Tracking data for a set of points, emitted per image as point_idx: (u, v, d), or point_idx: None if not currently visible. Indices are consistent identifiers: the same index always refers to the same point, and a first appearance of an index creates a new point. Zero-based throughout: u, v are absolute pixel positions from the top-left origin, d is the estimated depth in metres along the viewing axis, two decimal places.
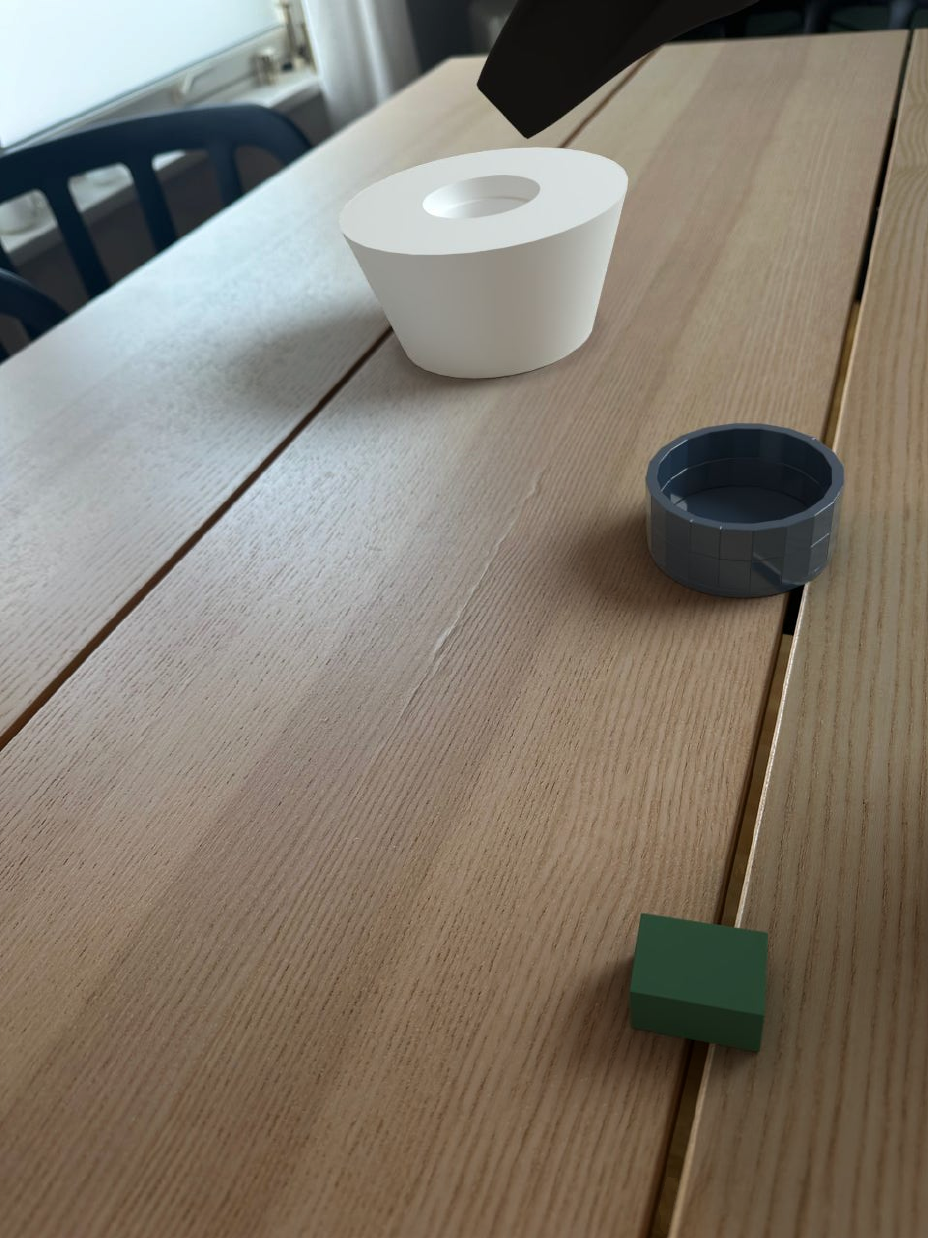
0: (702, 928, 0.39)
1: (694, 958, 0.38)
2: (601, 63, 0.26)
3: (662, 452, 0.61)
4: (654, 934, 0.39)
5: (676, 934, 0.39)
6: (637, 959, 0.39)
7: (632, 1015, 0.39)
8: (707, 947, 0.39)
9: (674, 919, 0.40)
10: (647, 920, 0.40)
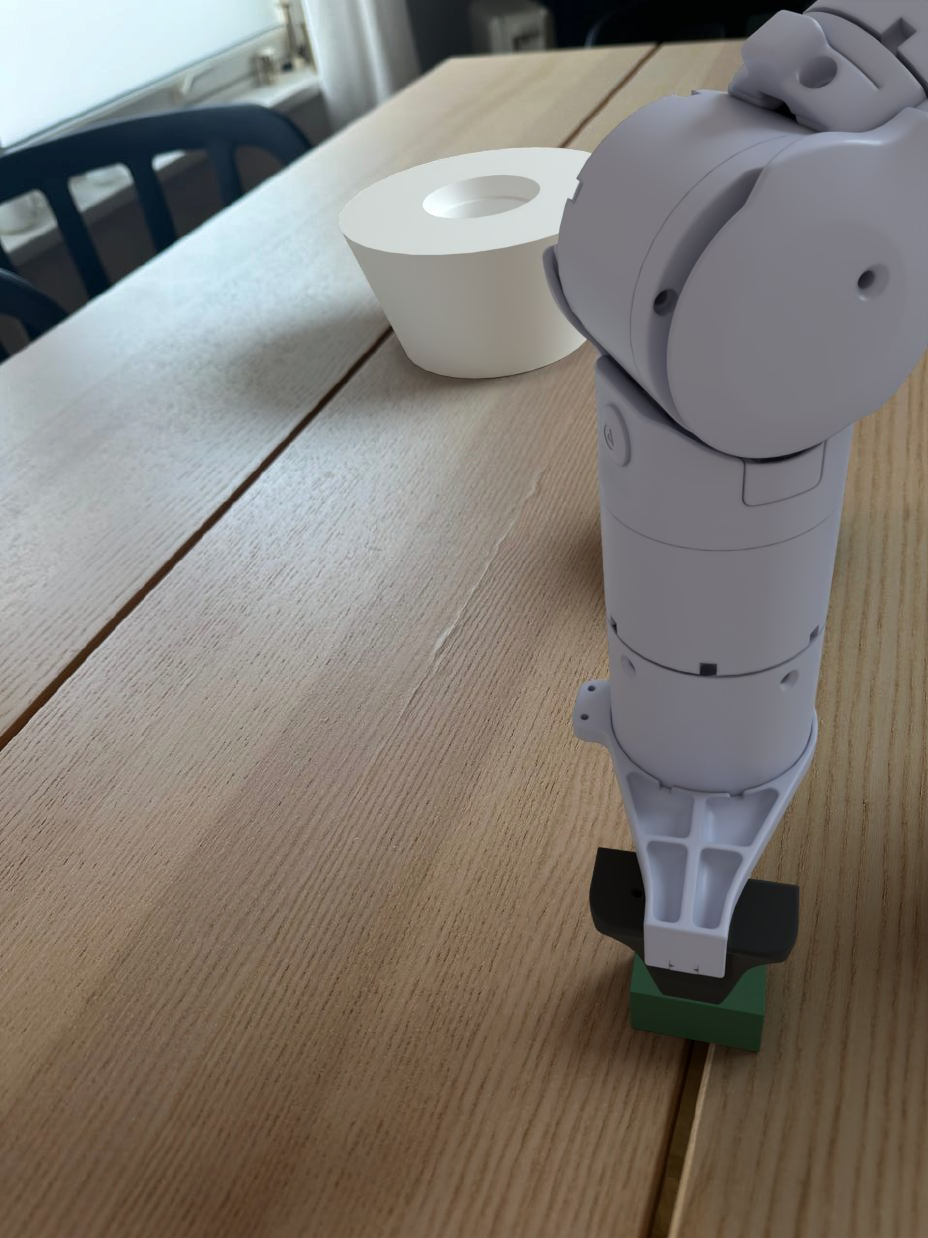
0: None
1: None
2: (728, 968, 0.30)
3: None
4: None
5: None
6: (637, 959, 0.39)
7: (632, 1015, 0.39)
8: None
9: None
10: None
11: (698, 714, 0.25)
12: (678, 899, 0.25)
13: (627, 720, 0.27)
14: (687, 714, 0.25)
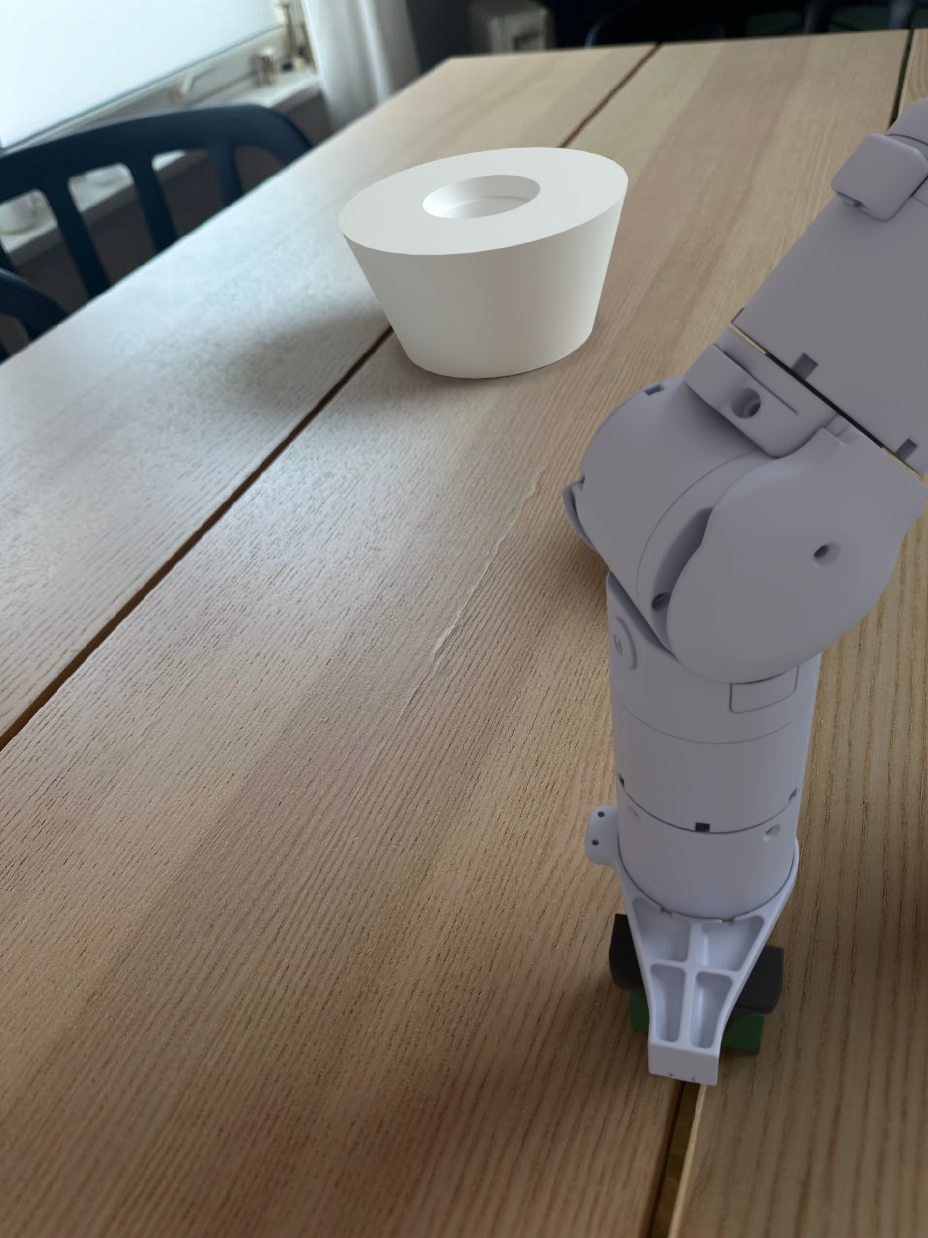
0: None
1: None
2: None
3: None
4: None
5: None
6: None
7: (632, 1016, 0.39)
8: None
9: None
10: None
11: (693, 859, 0.29)
12: (677, 1018, 0.29)
13: (632, 854, 0.31)
14: (685, 859, 0.29)
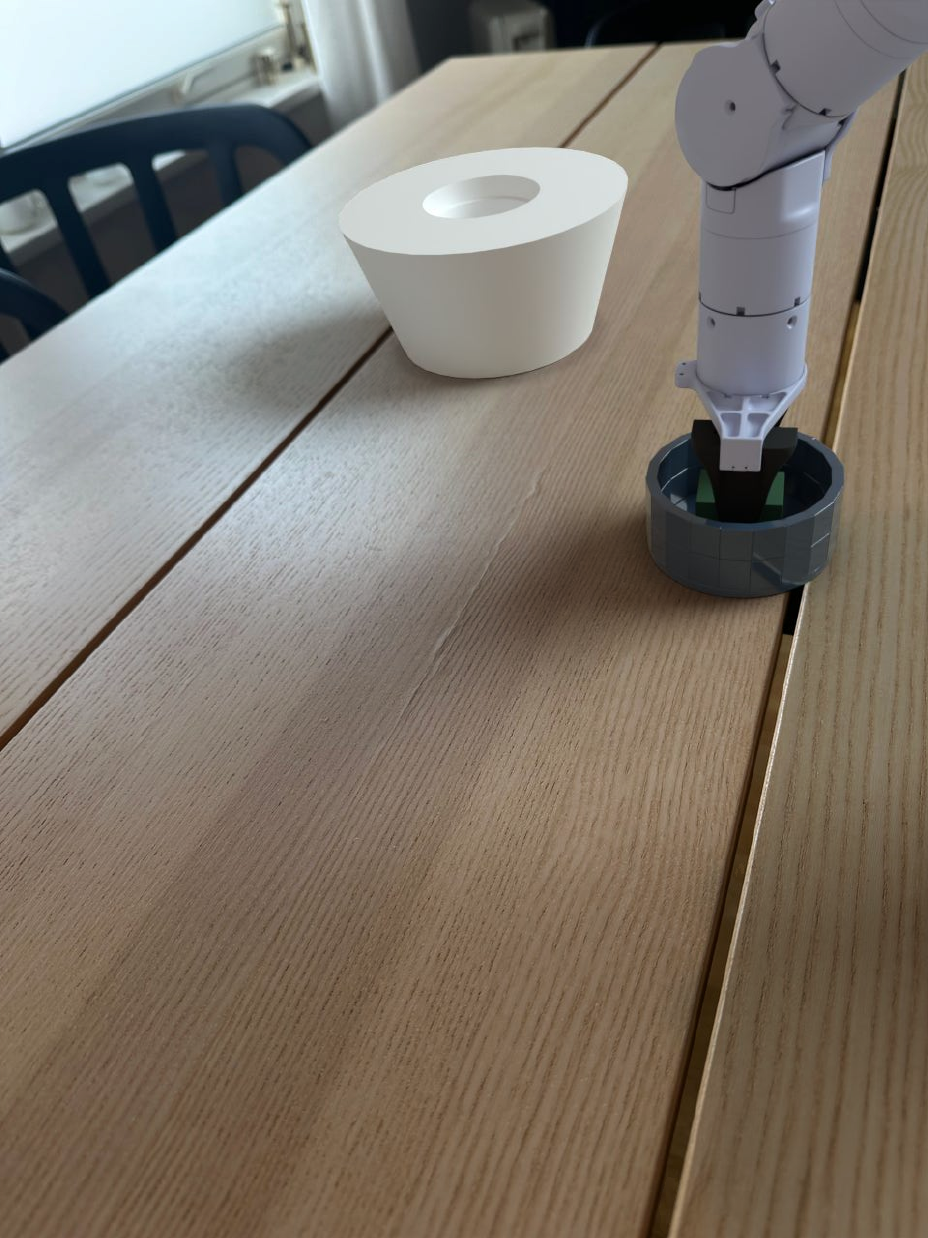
0: None
1: None
2: (760, 491, 0.56)
3: (662, 452, 0.61)
4: None
5: None
6: (699, 488, 0.60)
7: None
8: None
9: None
10: (705, 472, 0.61)
11: (746, 341, 0.50)
12: (737, 433, 0.50)
13: (708, 360, 0.53)
14: (741, 342, 0.50)
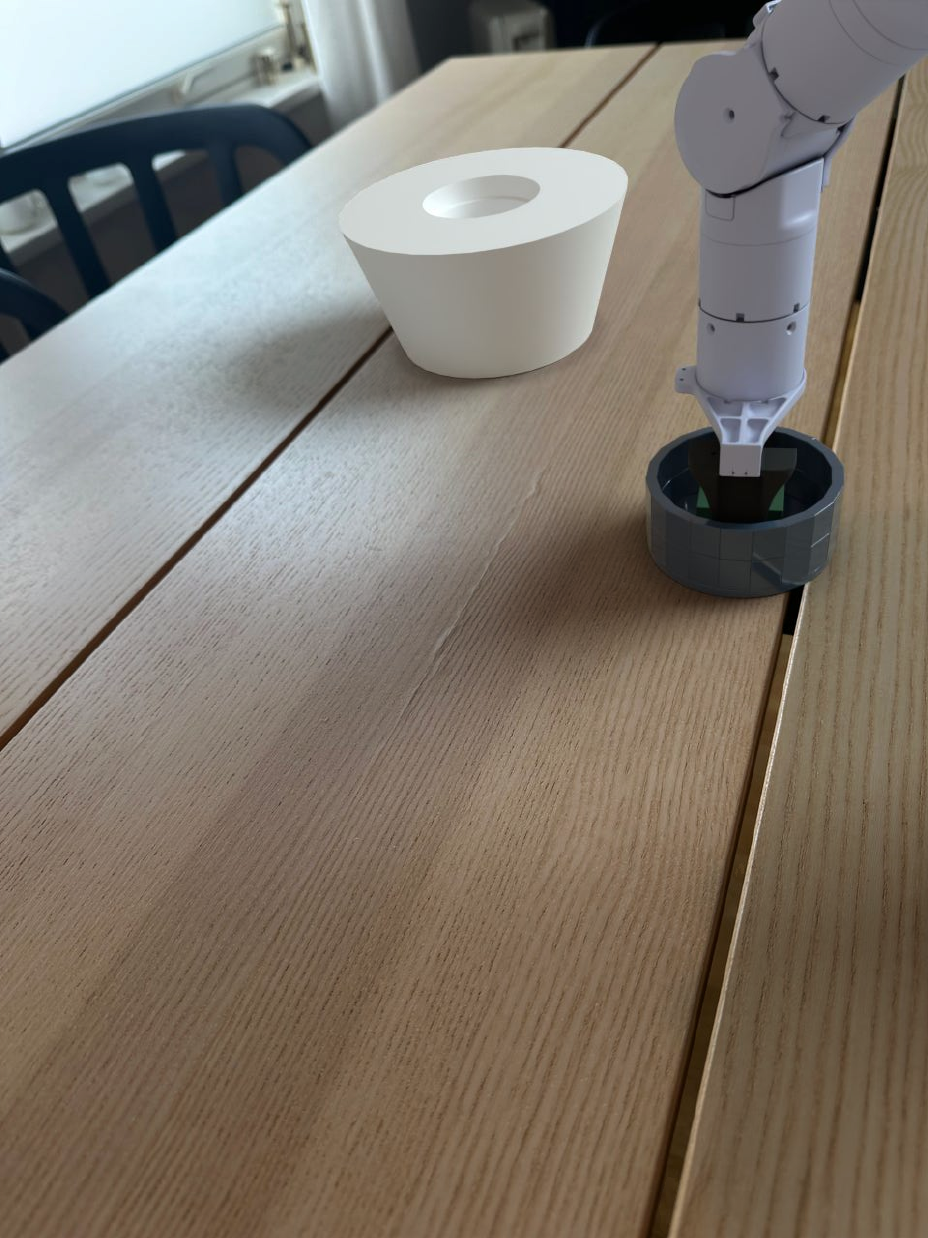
0: None
1: None
2: (759, 513, 0.55)
3: (662, 452, 0.61)
4: None
5: None
6: (700, 493, 0.60)
7: None
8: None
9: None
10: None
11: (746, 347, 0.51)
12: (736, 439, 0.50)
13: (707, 366, 0.53)
14: (741, 348, 0.51)
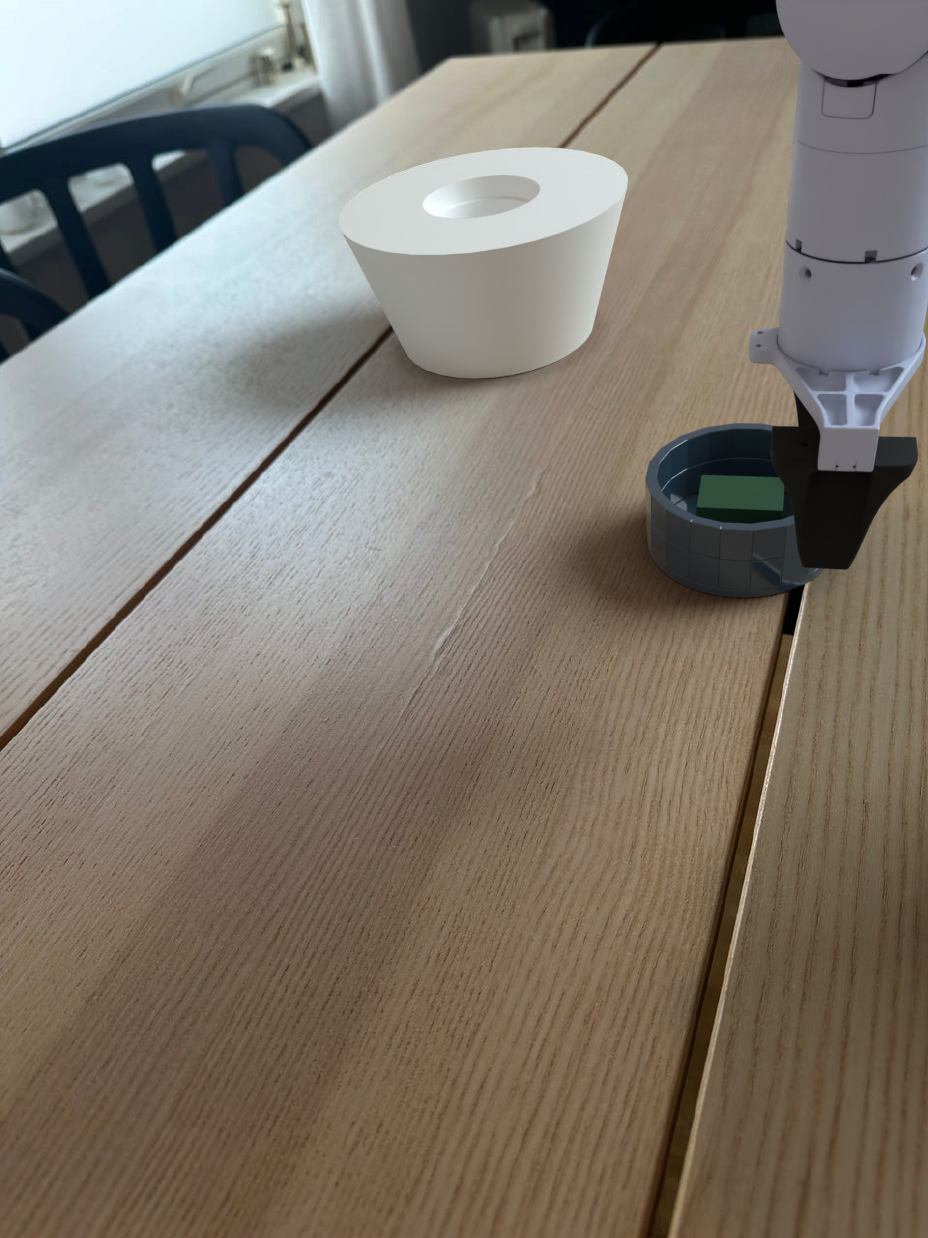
0: (741, 478, 0.61)
1: (737, 491, 0.60)
2: (859, 522, 0.42)
3: (662, 452, 0.61)
4: (710, 482, 0.61)
5: (725, 481, 0.61)
6: (700, 493, 0.60)
7: None
8: (745, 486, 0.60)
9: None
10: (705, 477, 0.61)
11: (854, 298, 0.38)
12: (842, 421, 0.38)
13: (798, 326, 0.40)
14: (847, 300, 0.38)
